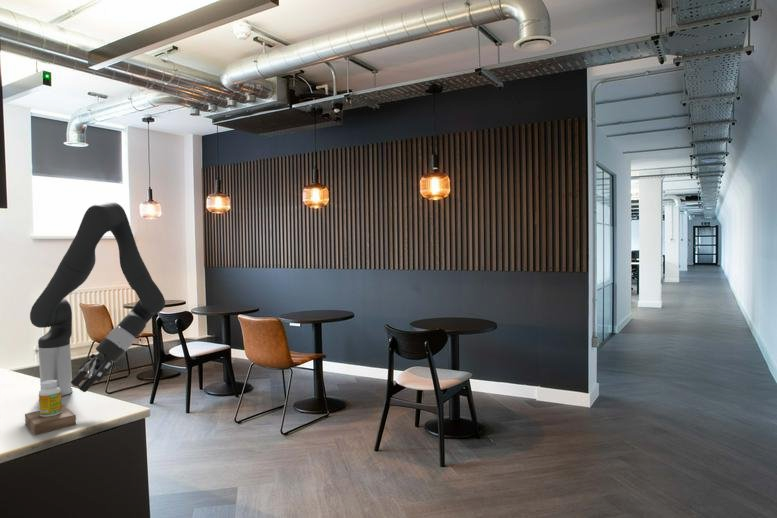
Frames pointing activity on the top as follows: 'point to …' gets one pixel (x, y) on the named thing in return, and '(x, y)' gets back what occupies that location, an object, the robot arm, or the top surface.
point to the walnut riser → (50, 421)
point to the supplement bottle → (50, 399)
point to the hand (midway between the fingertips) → (77, 387)
